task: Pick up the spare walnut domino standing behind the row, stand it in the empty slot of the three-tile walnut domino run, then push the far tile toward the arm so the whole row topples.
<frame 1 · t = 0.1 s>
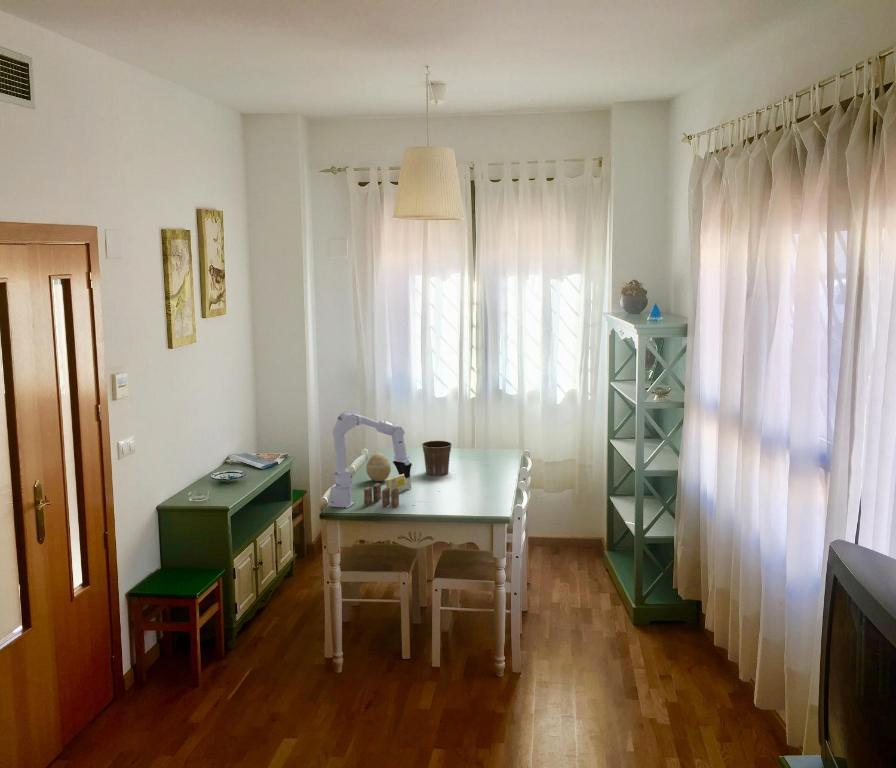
hand: (404, 476, 419), 10 cm above the table, tool pointing down, fingers open, 7 cm apart
fossilized egg: (378, 481, 450), on the table
far tile: (395, 506, 405), on the table
plant pot: (437, 473, 465), on the table
candy box: (398, 492, 430), on the table
end tile: (368, 504, 409), on the table
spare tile: (377, 500, 415), on the table
middle tile: (386, 505, 406), on the table
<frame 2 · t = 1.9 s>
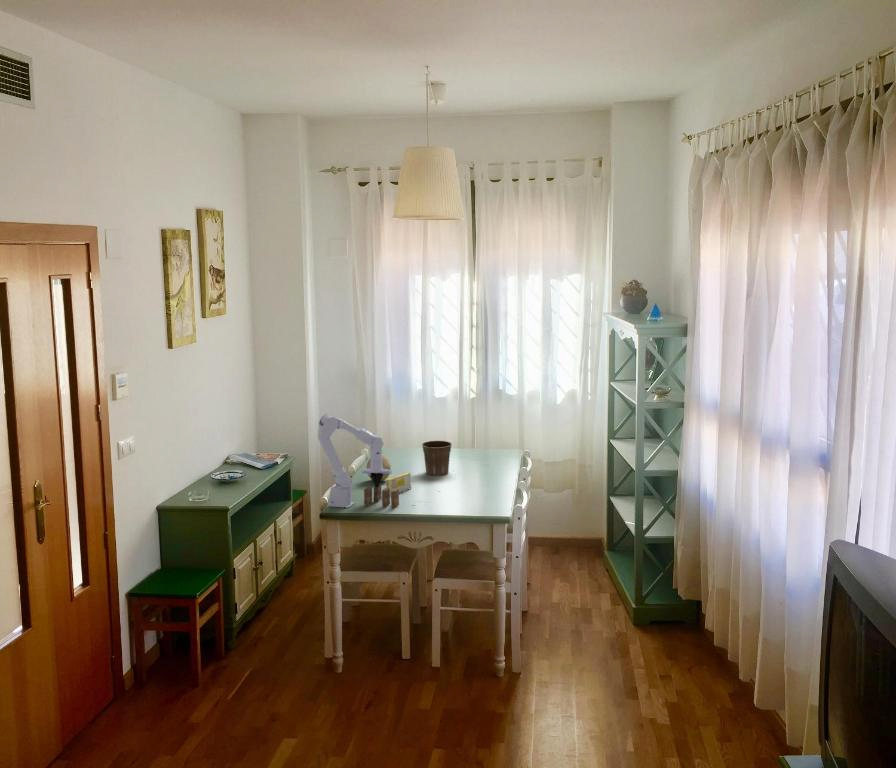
hand: (377, 488, 414), 6 cm above the table, tool pointing down, fingers closed, pressing on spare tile
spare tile: (377, 502, 415), on the table, touching gripper
everything else where it was.
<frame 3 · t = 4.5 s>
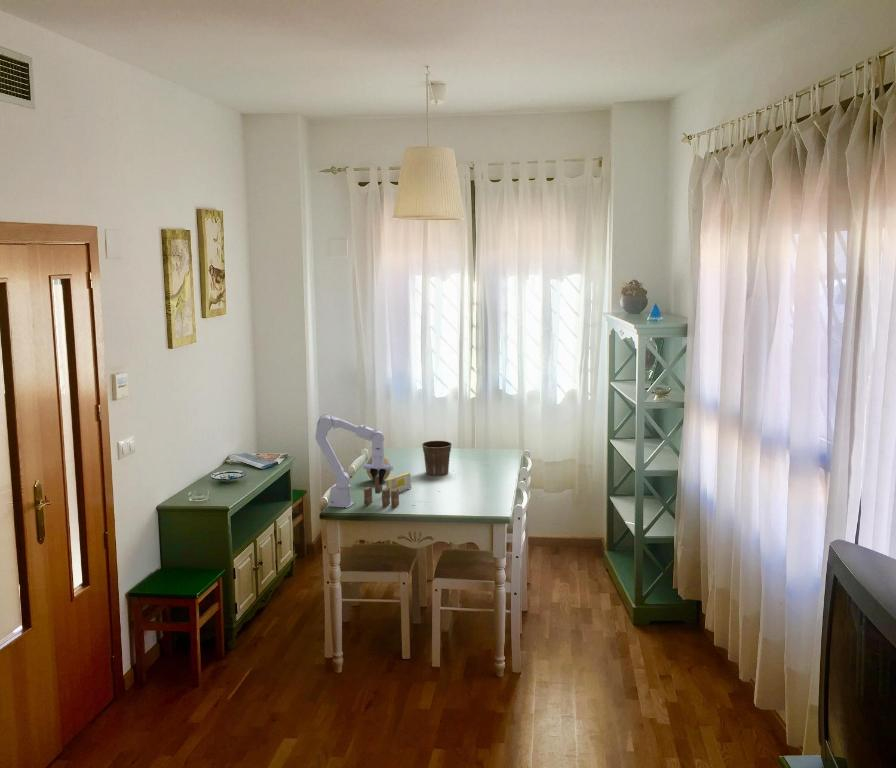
hand: (378, 484, 408), 9 cm above the table, tool pointing down, fingers closed on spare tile
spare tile: (378, 492, 409), point 6 cm above the table, touching gripper
everything else where it was.
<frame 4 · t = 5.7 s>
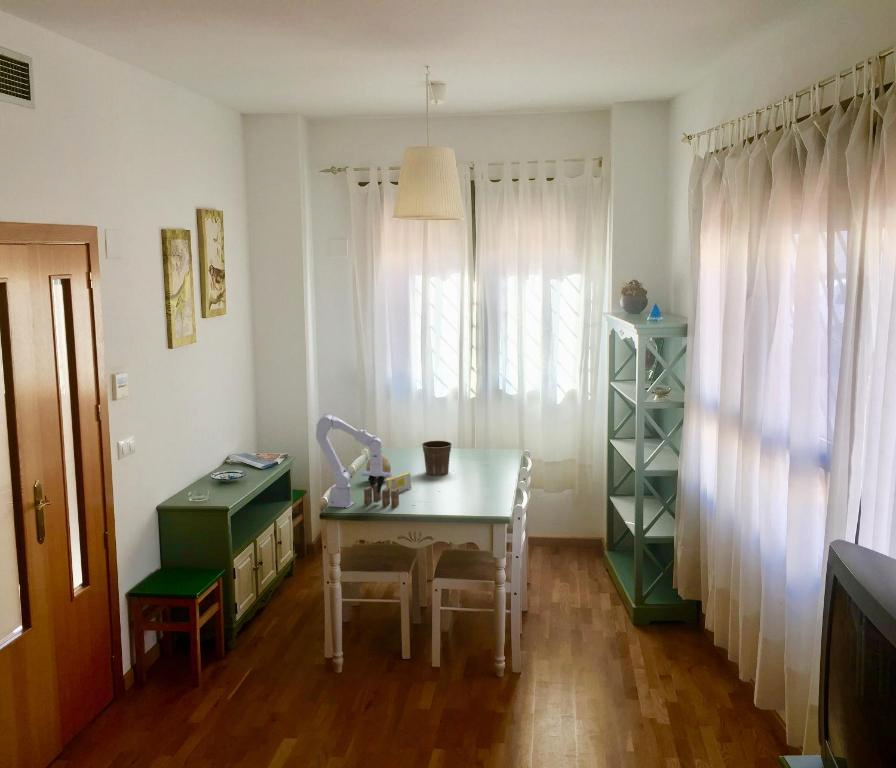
hand: (376, 491, 406), 7 cm above the table, tool pointing down, fingers closed on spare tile, 2 cm apart
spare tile: (377, 500, 407), point 2 cm above the table, touching gripper
everything else where it was.
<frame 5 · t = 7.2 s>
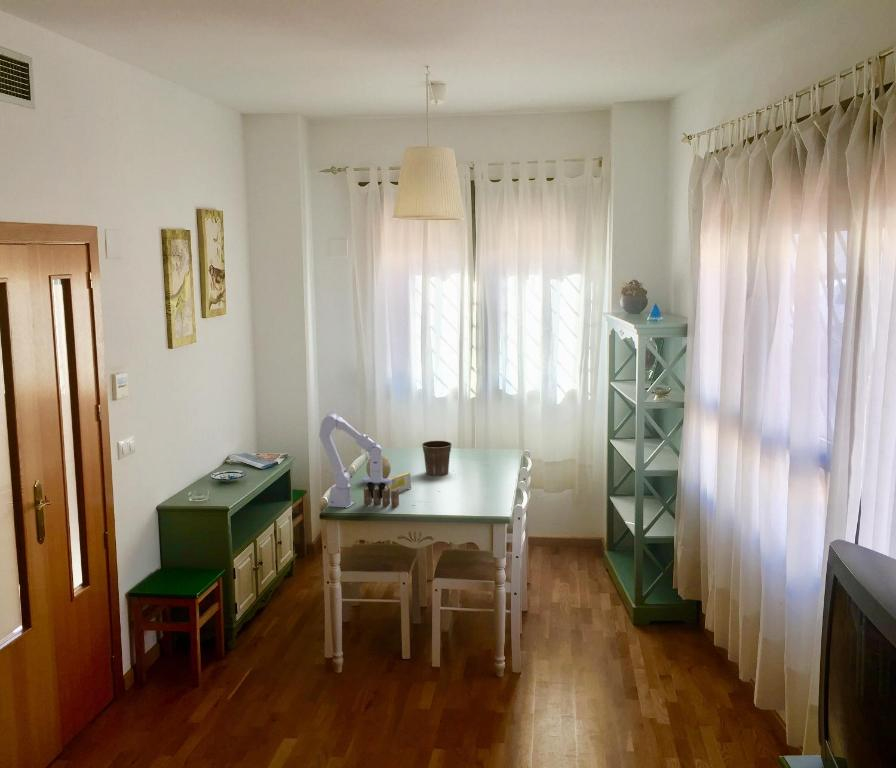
hand: (377, 498, 407), 3 cm above the table, tool pointing down, fingers open, 3 cm apart
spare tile: (377, 505, 407), on the table
middle tile: (386, 505, 406), on the table, touching gripper
everything else where it was.
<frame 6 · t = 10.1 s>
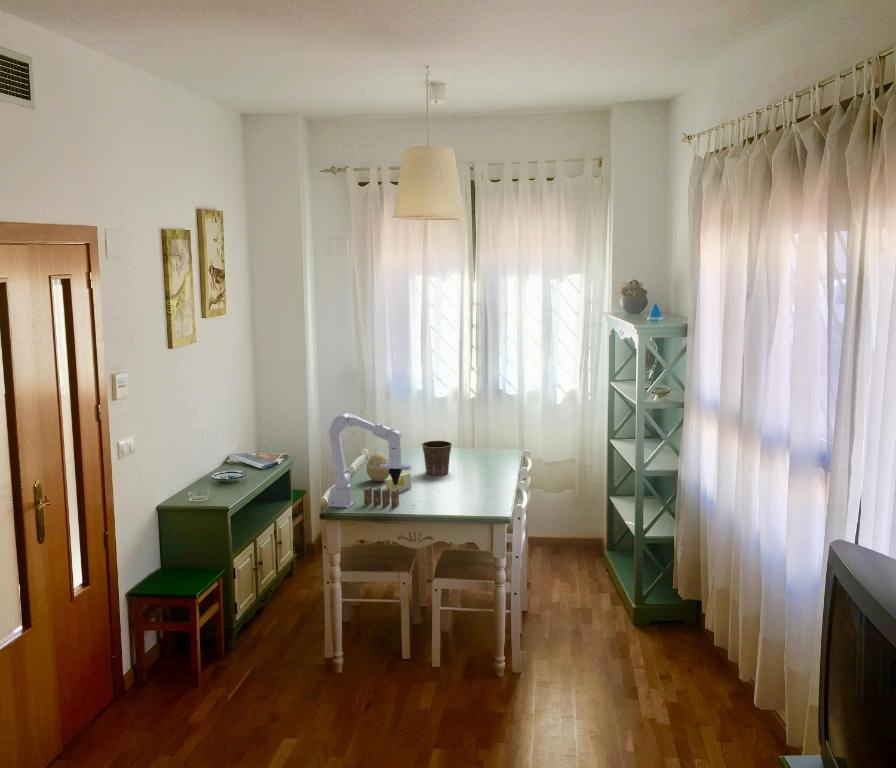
hand: (395, 484, 403), 11 cm above the table, tool pointing down, fingers closed
middle tile: (386, 505, 406), on the table
everything else where it was.
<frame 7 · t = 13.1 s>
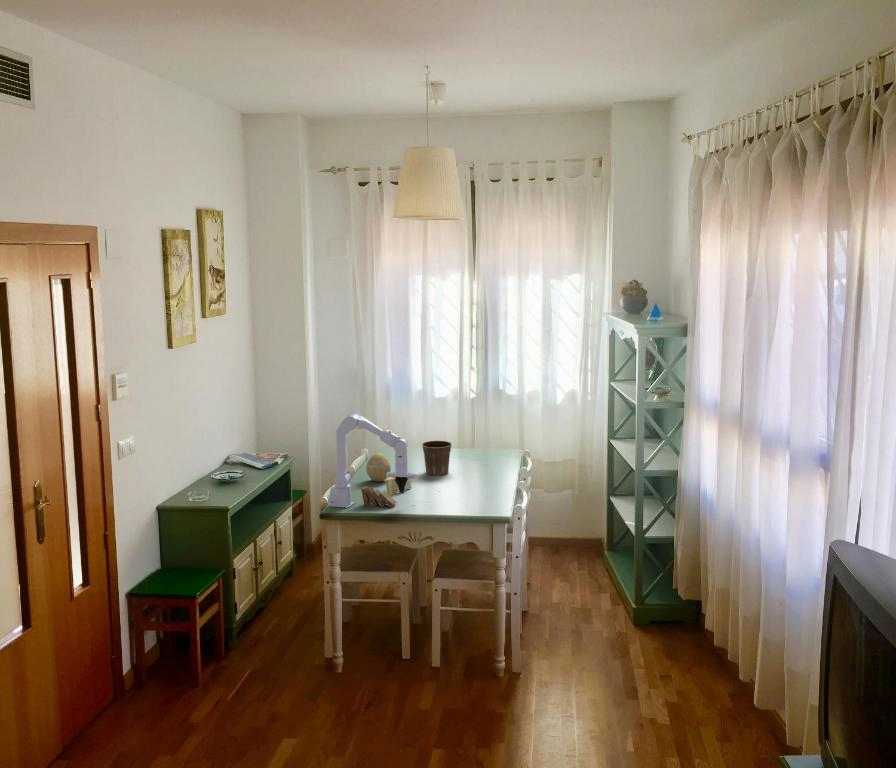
hand: (401, 492, 403), 7 cm above the table, tool pointing down, fingers closed
far tile: (393, 504, 405), point 1 cm above the table, tilted 51°, touching middle tile
end tile: (368, 504, 409), on the table, tilted 11°
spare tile: (377, 504, 407), on the table, tilted 28°, touching middle tile
middle tile: (385, 504, 406), point 1 cm above the table, tilted 41°, touching far tile, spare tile
everything else where it was.
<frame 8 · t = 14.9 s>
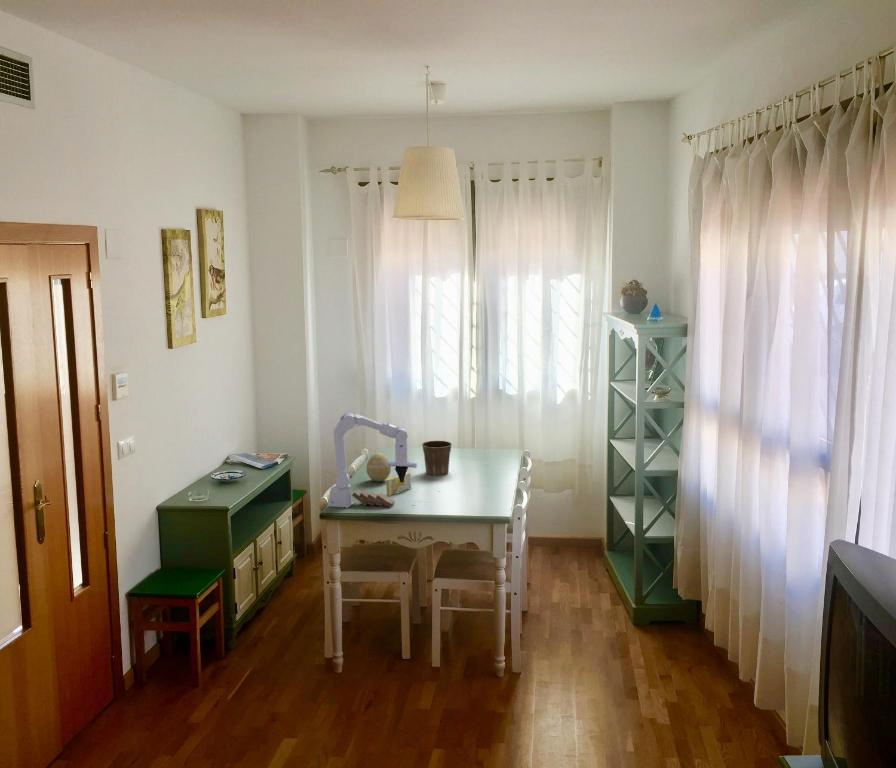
hand: (401, 481, 409), 10 cm above the table, tool pointing down, fingers closed
far tile: (392, 504, 405), point 1 cm above the table, tilted 61°, touching middle tile
end tile: (368, 502, 409), point 1 cm above the table, tilted 54°, touching arm, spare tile
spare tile: (375, 503, 408), point 1 cm above the table, tilted 56°, touching end tile, middle tile
middle tile: (383, 503, 406), point 1 cm above the table, tilted 58°, touching far tile, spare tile
everything else where it was.
at the end: end tile tilted 54°; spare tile tilted 55°; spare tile inside the target area (1.0 cm from its centre), point 0.8 cm above the table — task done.
